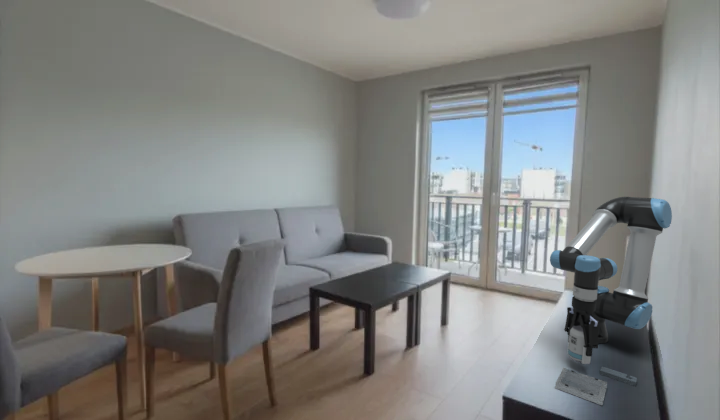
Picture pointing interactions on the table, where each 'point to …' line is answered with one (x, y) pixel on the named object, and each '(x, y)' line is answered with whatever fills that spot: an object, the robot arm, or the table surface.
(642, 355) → the table surface
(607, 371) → the bracket
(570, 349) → the beverage can
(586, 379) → the rail plate
